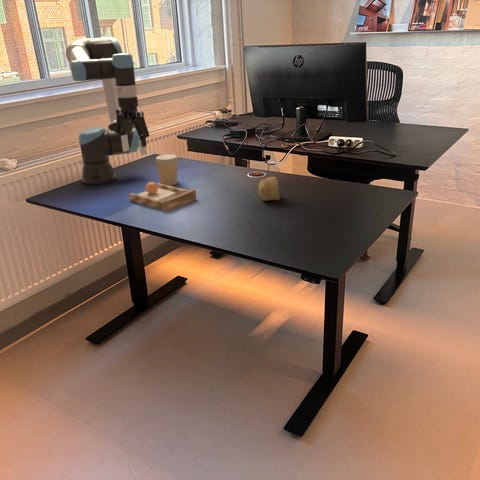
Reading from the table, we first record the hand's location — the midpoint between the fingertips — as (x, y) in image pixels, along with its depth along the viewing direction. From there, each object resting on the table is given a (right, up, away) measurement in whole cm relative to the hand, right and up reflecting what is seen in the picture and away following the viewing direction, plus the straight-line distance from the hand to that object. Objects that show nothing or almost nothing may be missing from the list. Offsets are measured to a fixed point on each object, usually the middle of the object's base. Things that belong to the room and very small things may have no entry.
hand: (134, 152), depth 192 cm
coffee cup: (+11, -10, +20) cm, 25 cm away
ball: (+7, -14, +1) cm, 16 cm away
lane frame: (+12, -19, 0) cm, 23 cm away
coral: (+55, -20, -4) cm, 58 cm away
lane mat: (+12, -19, 0) cm, 23 cm away
